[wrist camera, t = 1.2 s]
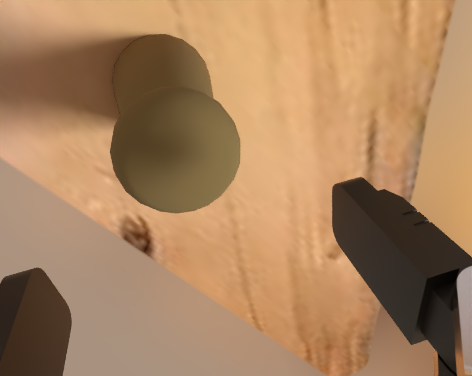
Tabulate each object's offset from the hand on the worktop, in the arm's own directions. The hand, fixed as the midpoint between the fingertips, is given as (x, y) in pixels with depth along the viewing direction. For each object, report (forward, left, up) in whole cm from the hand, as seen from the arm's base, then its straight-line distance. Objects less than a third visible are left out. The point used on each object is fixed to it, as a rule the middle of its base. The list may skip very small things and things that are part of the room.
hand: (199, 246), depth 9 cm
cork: (0, 0, -15) cm, 15 cm away
